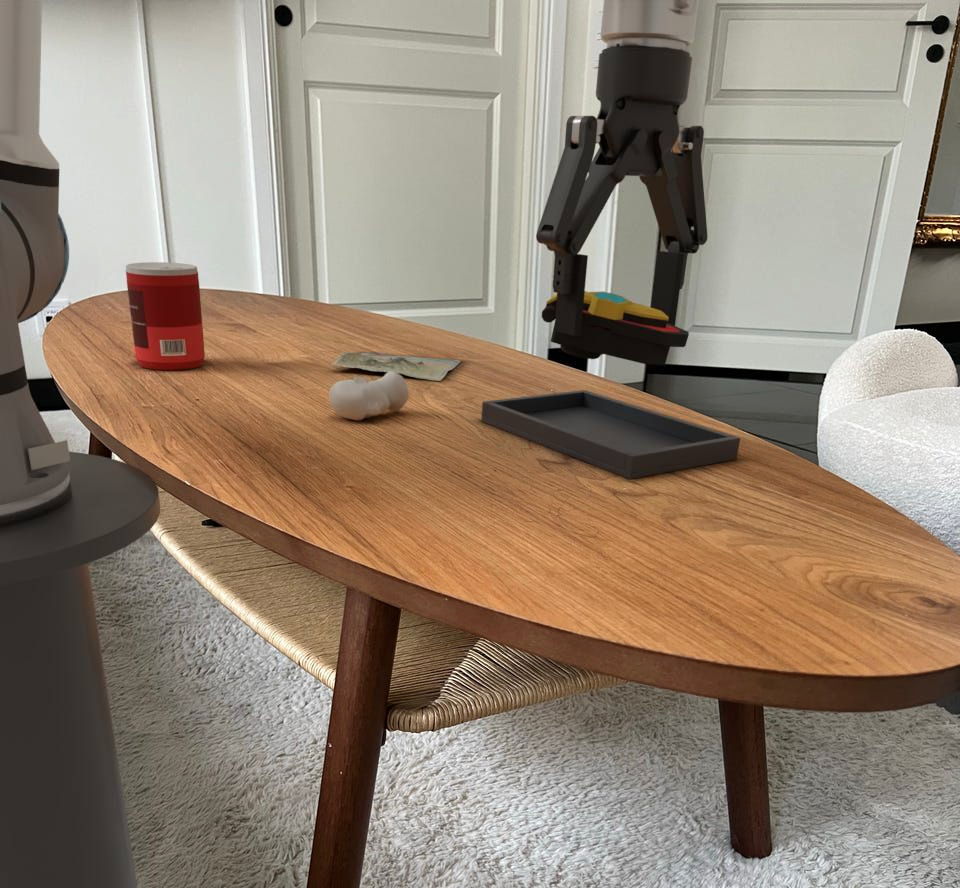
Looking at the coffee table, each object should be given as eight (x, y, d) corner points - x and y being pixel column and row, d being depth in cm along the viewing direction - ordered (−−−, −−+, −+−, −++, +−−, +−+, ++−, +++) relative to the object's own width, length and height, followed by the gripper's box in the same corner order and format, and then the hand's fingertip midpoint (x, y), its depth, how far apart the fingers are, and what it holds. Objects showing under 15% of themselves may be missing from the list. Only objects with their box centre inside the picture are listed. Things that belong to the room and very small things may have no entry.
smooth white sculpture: (341, 435, 91) (321, 408, 94) (414, 427, 95) (393, 401, 98) (344, 396, 88) (324, 369, 91) (420, 389, 92) (399, 363, 95)
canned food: (218, 363, 113) (211, 266, 108) (174, 373, 107) (164, 271, 102) (168, 355, 116) (159, 260, 111) (122, 365, 110) (110, 264, 105)
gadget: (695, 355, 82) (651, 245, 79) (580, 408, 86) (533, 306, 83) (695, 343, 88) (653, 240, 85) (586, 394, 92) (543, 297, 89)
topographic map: (440, 381, 110) (441, 367, 110) (329, 368, 112) (330, 354, 111) (461, 365, 122) (462, 352, 122) (362, 353, 124) (362, 340, 123)
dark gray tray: (481, 421, 94) (481, 401, 93) (582, 408, 101) (584, 389, 101) (630, 479, 79) (633, 456, 78) (736, 459, 86) (740, 437, 85)
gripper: (566, 27, 67) (542, 344, 77) (776, 60, 79) (733, 329, 89) (502, 34, 72) (488, 330, 82) (709, 64, 85) (675, 317, 94)
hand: (616, 329), depth 85 cm, fingers closed on gadget, 11 cm apart
